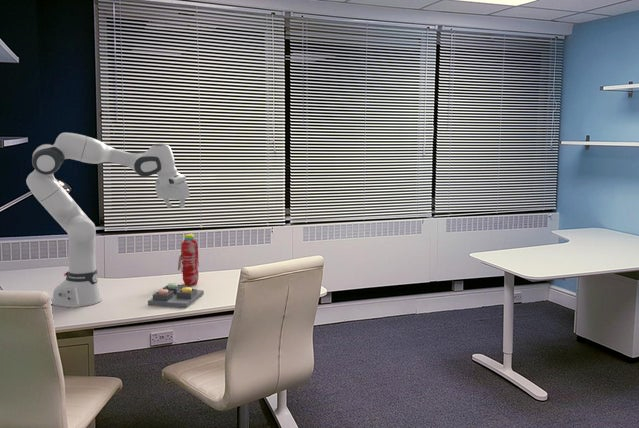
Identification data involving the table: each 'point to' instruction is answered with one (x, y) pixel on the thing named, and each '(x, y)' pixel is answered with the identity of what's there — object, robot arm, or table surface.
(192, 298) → the button panel
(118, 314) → the table surface
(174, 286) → the sage button
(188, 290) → the amber button
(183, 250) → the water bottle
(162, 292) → the terracotta button
